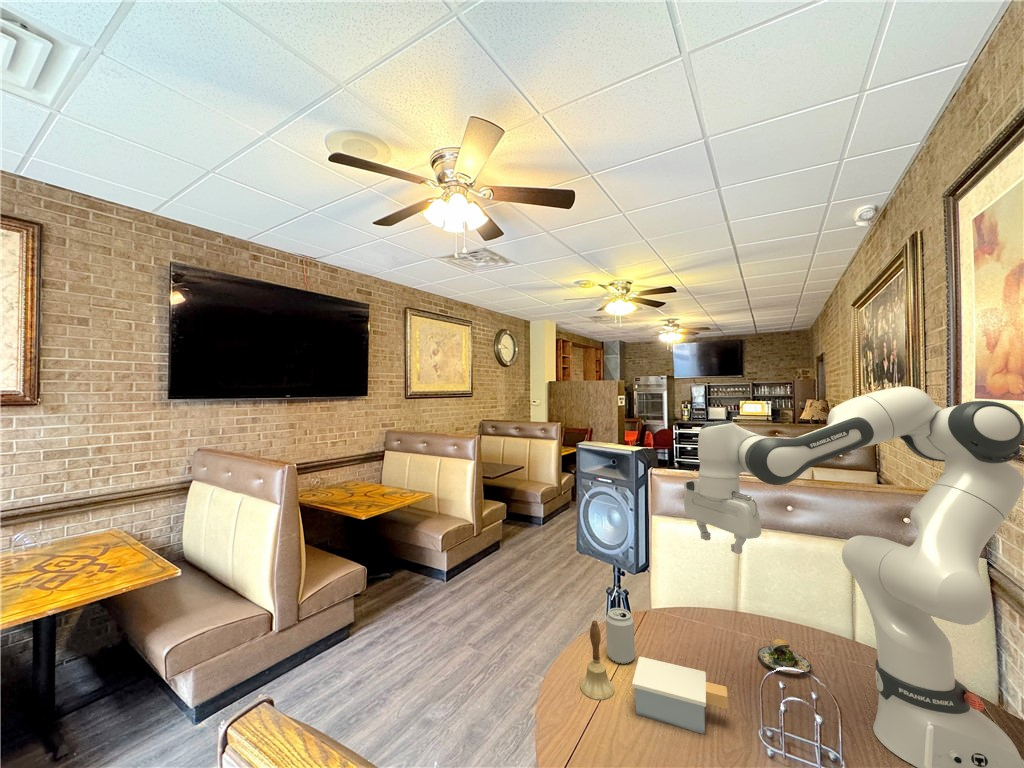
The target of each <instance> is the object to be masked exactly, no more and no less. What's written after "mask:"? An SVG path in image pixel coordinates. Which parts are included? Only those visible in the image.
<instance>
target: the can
mask: <svg viewBox="0 0 1024 768" xmlns="http://www.w3.org/2000/svg"><path fill="white" fill-rule="evenodd" d="M634 620H635V619H634V618H633V616H632V614H631V612H630V611H629V610H628V609H625V608H621V607H614V608H610V609H609V610H608V611H607V614H606V616H605V634H606V637H605V638H606V653H607V654H606V655H607V657H609V659H611V661H613V662H614V661H615V662H614V663H616V664H620V663H621V665H627V664H630V663H631V662H632V661H634V659H635V658H636V657H635V656H636V652H635V651H636V650H635V649H636V647H635V646H636V645H635V623H634ZM629 662H630V663H629ZM626 663H627V664H626Z"/></svg>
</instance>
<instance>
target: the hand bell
mask: <svg viewBox="0 0 1024 768" xmlns="http://www.w3.org/2000/svg"><path fill="white" fill-rule="evenodd" d="M589 639H590V644H591V647H592V660H590V661H589V662H588V663H587V668H586V674H585V677H583V679H582V680H581V681H580V684H579V687H580V690H581V691H580V692H581V693H582V694H583V695H584V696H586V697H588V698H590V699H592V700H596V701H605V700H608V699H610V698H612V697H613V695H614V694H615V686H614V685H613V683H612V681H611V680H610V679H609V678H608V672H607V667H606V664H605V663H603V662H602V661H601V658H600V645H601V640H602V639H601V630H600V626H599V623H598V621H597V620H592V621H591V625H590V630H589Z"/></svg>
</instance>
